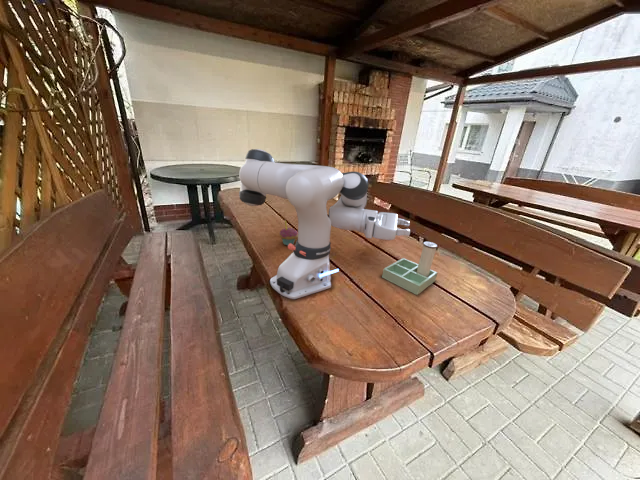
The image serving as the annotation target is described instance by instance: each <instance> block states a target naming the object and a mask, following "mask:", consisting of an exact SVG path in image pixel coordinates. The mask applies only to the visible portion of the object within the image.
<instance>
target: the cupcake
mask: <svg viewBox="0 0 640 480" xmlns="http://www.w3.org/2000/svg"><path fill="white" fill-rule="evenodd" d="M284 226H285V228H283V229H281V230H280V231H279V233H278V234H279V238H281V241H282V244H283V245H285V246H288V245H289V244H290V243H291V244H293V245H295V242H296V239H298V230H296V229H294V228H292V227H288V224H287V221H286V220H284Z"/></svg>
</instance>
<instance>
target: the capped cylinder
mask: <svg viewBox="0 0 640 480" xmlns="http://www.w3.org/2000/svg"><path fill="white" fill-rule="evenodd" d="M422 245H423V246H422V249H421V253H420V257H419V261H418V264H419V265H418V269H417V272H416V273H418V274H420V275H423V276H425V277H427V278H428V277H429V273H430V270H432V265H433V262H434V259H435V254H436V251H437V248H438V244H436V243H435V242H432V241H424V242H423V244H422Z"/></svg>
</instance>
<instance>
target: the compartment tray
mask: <svg viewBox="0 0 640 480" xmlns="http://www.w3.org/2000/svg"><path fill="white" fill-rule="evenodd" d="M418 265H419V263H416V262H414V261H412V260H409V259H407V258H404V257H402V258H400V259H398V260H396V261H395V262H393V263H391V264H389V265H388V266H386V267H384V268H383V269H382V275H381V278H382V279H384V280H386V281H388V282H390V283H392V284H394V285H396V286H398V287H399V288H400V287H401V288H402V289H404V290H406V291H408V292H410V293H411V294H414V295H415V296H418V295H420V294H421V293H422V292H424V290H426V289H427V288H428V287H429V286H431V285H432V284H433V283H434V282H436V278H437V276H438V272H437V271H435V270H433V269H430V273H429V277H428V278H427V277H425V276H423V275H420V274H418V273H416V272H417V269H418Z"/></svg>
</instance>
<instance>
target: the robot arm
mask: <svg viewBox="0 0 640 480" xmlns="http://www.w3.org/2000/svg"><path fill="white" fill-rule="evenodd" d="M244 158H245V161H244V163H243V164H242V165H241V167H240V169H239V173H238V176H239V181H240V186H239V191H238V196H239V200H240V201H241V202H242V203H244V204H245V205H247V206H250V207H258V206H262V205H264V204H265V202H266V199H267V195H268V196H269V195H270V196H275V197H279V198H281V199H285V200H288V202H289V203H290V204H291V205H292V206H293V207H294V210H295V213H296V217H297V222H298V223H297V232H298V237H297V240H296V241H295V243H294V244H291V243H290V244H289V245H287V249H288V250H290V251H292V252H291V253H290V254H289V255H288V256H287V258H286V259H284V261H283V262H281V264H279V266H278V268H277V271H276V272H277V273H276V275H274V276H273V277H271V278H270V280H269V284H270V286H271V287H272V289H273V290H274V291H276V292H277V293H278V294H280V295H281V296H283V297H285V298H288V299H291V300H297V299H300V298H303V297H306V296H309V295H312V294H315V293H320V292H322V291H325V290H328V289H331V287H332V282H331V280H332V276H331V275H332V274H335V273H338V272H339V270H340V269H339V268H336V269H333V270H331V268H330V265H331V263H330V253H331V249H332V248H331V246H332V243H331V232H332V231H331V230H332V227H333V228H336V229H340V230H344V231H350V232H351V231H354V232H355V231H356V232H358V233H361V234H364V236H365V238H367V239H373V238H374V239H377V240H382V241H383V240H385V241H393V240H395V239H396V237H399V236H408V237H409V236H410V235H411V229H409V228H405V229H404V228H402V229H401V228H399V227H398V225H401V226H404V227H410V225H411V222H410V220H406V219H404V218H399V217H398V216H399V215H398V214H397V213H394V212H386V211H385V212H384V211H378V210H374V209H367V208H366V206H367V202H368V189H369V181H368V178H367V177H366V175H365V174H363V173H361V172H359V171H347V172H342V171H340V170H339V169H338V168H336V167H333V166H328V165H314V164H298V163H297V164H296V163H295V164H294V163H283V162H276V161H275V158H274V157H273V156H272V155H271V153H269V152H268V151H266V150H264V149H260V148H255V149H253V148H252V149H250V150H248V151H247V153H246V156H245V157H244ZM338 195H341V196H340V197H339V199H338V200H337V201H336V202H335V203H334V204H333V205H331V206H330V207H329V209H328V210H327V204H328V201H330V200H332V199H334V198H335V197H337V196H338Z"/></svg>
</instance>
